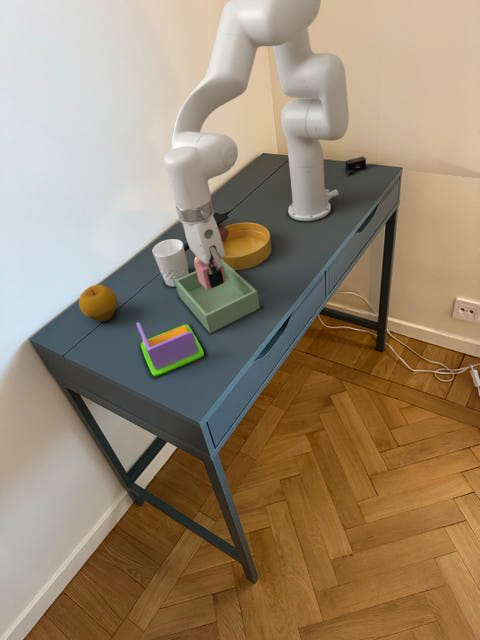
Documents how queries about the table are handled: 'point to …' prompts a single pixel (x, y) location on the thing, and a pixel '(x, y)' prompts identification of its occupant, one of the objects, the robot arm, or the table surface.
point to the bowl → (246, 245)
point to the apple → (98, 303)
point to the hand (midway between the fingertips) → (212, 279)
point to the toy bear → (205, 272)
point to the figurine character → (222, 230)
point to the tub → (218, 299)
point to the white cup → (171, 260)
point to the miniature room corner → (170, 349)
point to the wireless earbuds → (355, 164)
